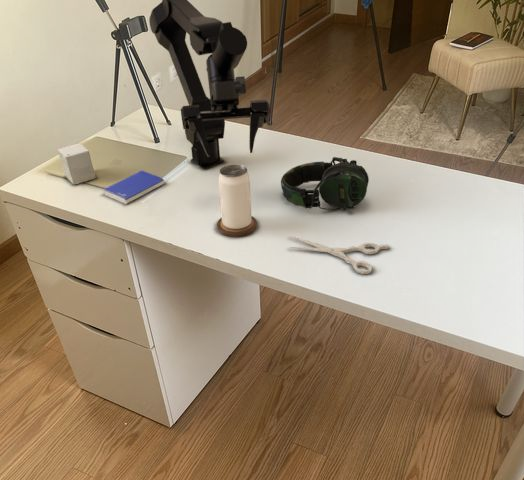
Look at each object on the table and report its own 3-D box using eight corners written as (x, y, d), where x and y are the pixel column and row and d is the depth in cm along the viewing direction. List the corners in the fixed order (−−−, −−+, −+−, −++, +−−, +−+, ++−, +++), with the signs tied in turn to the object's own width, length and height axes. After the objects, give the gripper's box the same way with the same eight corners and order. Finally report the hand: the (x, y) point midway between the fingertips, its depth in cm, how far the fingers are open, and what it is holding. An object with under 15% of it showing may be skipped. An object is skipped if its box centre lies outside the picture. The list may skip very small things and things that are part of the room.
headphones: (371, 161, 125) (289, 167, 131) (366, 138, 112) (275, 146, 118) (369, 218, 125) (287, 221, 130) (364, 201, 112) (273, 206, 118)
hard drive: (125, 198, 124) (163, 178, 131) (102, 188, 128) (141, 169, 134) (126, 204, 125) (164, 184, 132) (104, 194, 129) (142, 175, 136)
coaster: (240, 212, 121) (240, 208, 121) (265, 227, 116) (265, 223, 116) (209, 225, 117) (208, 222, 117) (233, 242, 112) (233, 238, 112)
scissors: (377, 273, 102) (279, 253, 107) (377, 277, 102) (279, 256, 108) (389, 244, 109) (296, 227, 114) (388, 248, 109) (296, 230, 115)
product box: (96, 178, 135) (89, 150, 130) (73, 185, 132) (65, 157, 127) (87, 170, 139) (80, 142, 133) (65, 176, 136) (56, 148, 131)
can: (255, 217, 118) (253, 165, 109) (245, 232, 113) (242, 179, 105) (228, 212, 119) (224, 161, 111) (217, 227, 115) (212, 175, 107)
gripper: (174, 64, 105) (183, 142, 105) (268, 57, 107) (277, 134, 106) (179, 92, 116) (187, 163, 116) (263, 86, 118) (271, 156, 117)
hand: (230, 154), depth 114 cm, fingers open, 9 cm apart
